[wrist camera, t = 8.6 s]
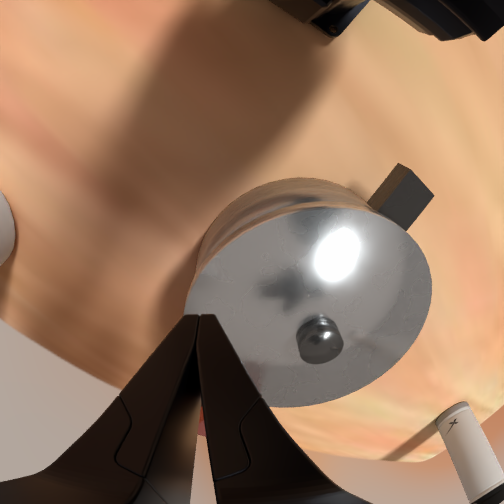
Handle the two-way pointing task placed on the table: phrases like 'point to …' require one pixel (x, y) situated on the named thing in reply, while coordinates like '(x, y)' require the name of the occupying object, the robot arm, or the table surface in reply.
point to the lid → (315, 299)
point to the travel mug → (471, 455)
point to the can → (6, 230)
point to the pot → (312, 190)
